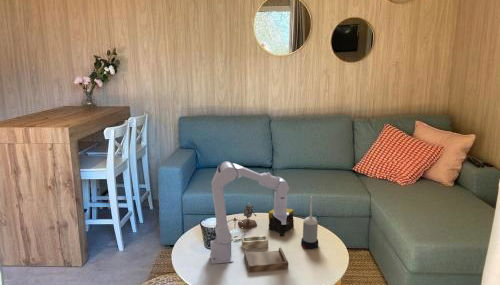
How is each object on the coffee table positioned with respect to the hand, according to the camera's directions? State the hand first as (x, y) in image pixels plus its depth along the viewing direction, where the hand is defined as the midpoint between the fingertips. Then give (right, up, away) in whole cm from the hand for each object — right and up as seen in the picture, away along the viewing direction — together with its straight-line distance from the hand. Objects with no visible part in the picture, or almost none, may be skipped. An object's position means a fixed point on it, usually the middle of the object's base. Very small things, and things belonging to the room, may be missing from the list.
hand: (279, 232), depth 173 cm
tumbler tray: (-11, -9, +8) cm, 16 cm away
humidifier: (+15, -8, +8) cm, 19 cm away
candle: (+3, -4, +26) cm, 27 cm away
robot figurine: (-15, -3, +30) cm, 34 cm away
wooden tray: (-7, -12, -6) cm, 15 cm away
